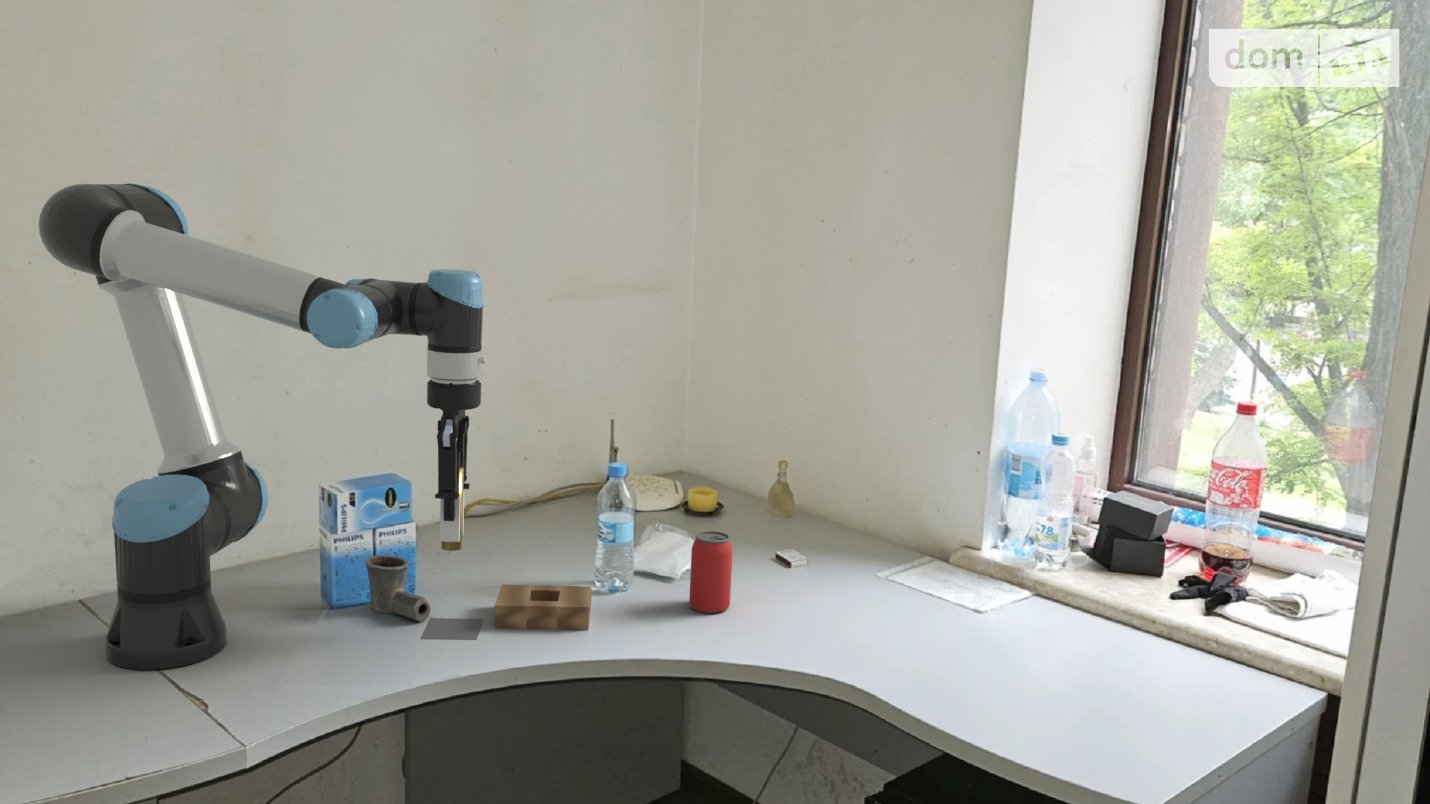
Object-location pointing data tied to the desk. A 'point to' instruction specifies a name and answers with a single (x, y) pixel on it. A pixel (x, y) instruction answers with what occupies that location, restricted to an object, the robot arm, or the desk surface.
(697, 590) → the beer can
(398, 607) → the pipe
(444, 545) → the pin
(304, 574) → the desk surface
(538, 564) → the desk surface
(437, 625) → the mat
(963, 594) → the desk surface
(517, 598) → the socket block
